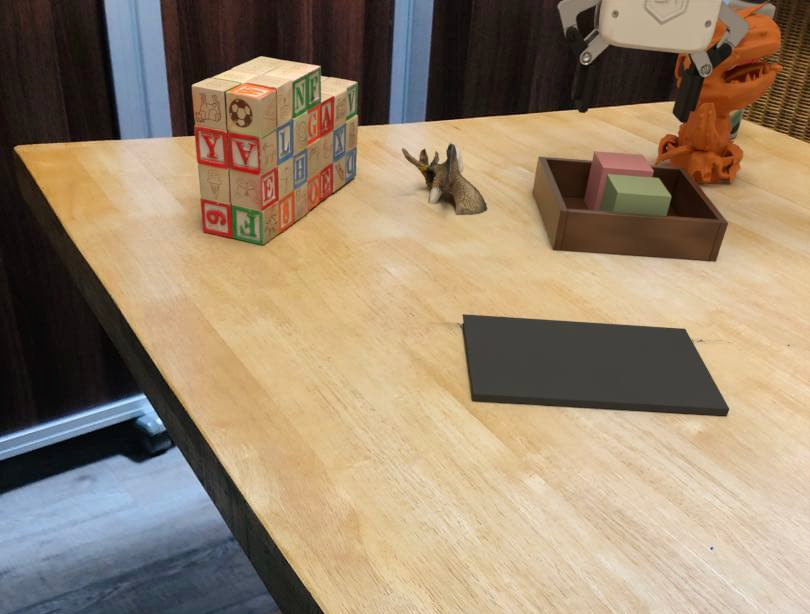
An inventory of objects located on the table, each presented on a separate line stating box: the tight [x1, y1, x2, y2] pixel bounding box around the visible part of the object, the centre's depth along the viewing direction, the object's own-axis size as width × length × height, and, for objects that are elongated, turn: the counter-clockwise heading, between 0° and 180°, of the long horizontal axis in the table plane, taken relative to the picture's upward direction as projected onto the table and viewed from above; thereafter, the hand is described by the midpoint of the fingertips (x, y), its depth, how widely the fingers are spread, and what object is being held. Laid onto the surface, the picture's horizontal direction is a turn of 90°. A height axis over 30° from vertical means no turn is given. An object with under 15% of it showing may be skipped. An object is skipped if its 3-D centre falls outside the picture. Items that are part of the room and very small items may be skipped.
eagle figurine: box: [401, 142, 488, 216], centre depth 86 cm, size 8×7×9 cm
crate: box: [532, 155, 729, 263], centre depth 85 cm, size 15×15×4 cm
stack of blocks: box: [191, 56, 359, 246], centre depth 81 cm, size 21×6×12 cm, turn 160°
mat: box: [461, 313, 730, 417], centre depth 64 cm, size 18×12×1 cm, turn 91°
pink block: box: [584, 150, 654, 211], centre depth 87 cm, size 5×5×5 cm
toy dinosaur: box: [653, 2, 784, 184], centre depth 95 cm, size 11×11×18 cm
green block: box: [599, 174, 672, 216], centre depth 81 cm, size 5×5×5 cm
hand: (630, 113), depth 82 cm, fingers open, 9 cm apart
